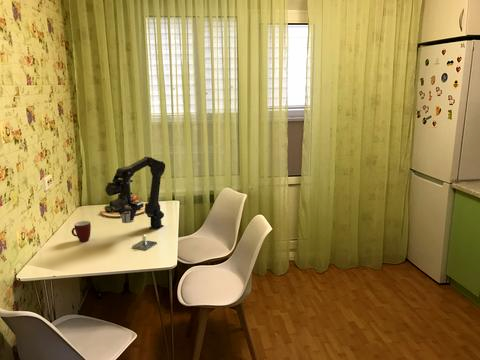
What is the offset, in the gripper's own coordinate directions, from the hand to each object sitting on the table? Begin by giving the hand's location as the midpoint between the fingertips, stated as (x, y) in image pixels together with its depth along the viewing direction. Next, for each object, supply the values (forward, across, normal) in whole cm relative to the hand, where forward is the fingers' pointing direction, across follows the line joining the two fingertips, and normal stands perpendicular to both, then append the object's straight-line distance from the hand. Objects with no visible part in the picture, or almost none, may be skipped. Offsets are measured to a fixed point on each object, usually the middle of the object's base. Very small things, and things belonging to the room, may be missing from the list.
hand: (127, 219), depth 213 cm
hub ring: (+1, 0, 0) cm, 1 cm away
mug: (+11, -22, -12) cm, 28 cm away
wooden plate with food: (+12, -36, +41) cm, 56 cm away
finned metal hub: (+11, +14, -6) cm, 19 cm away
